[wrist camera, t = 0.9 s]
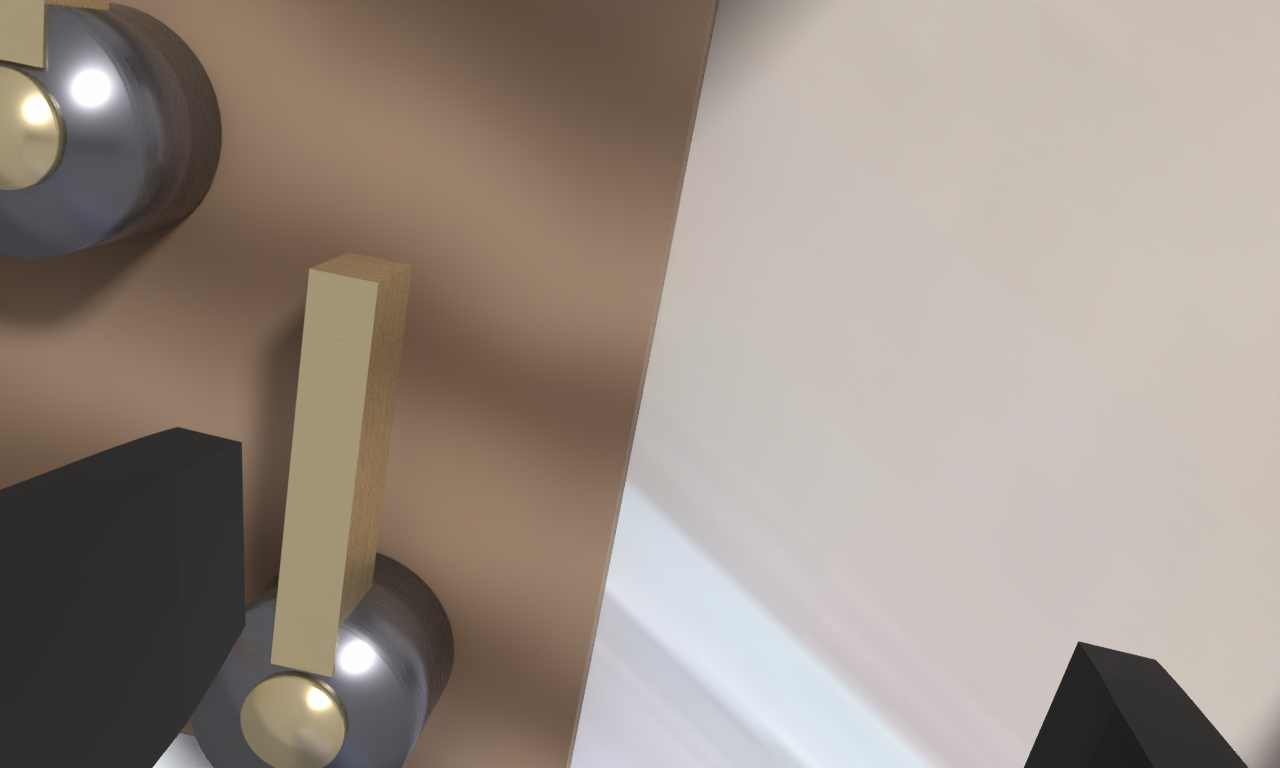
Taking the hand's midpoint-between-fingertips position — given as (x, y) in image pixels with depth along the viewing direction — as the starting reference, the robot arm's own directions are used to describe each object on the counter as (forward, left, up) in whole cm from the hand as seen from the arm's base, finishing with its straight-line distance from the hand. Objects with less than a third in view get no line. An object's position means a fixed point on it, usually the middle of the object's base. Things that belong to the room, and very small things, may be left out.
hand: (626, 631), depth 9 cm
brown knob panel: (-1, +10, -14) cm, 17 cm away
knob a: (-5, +6, -12) cm, 14 cm away
